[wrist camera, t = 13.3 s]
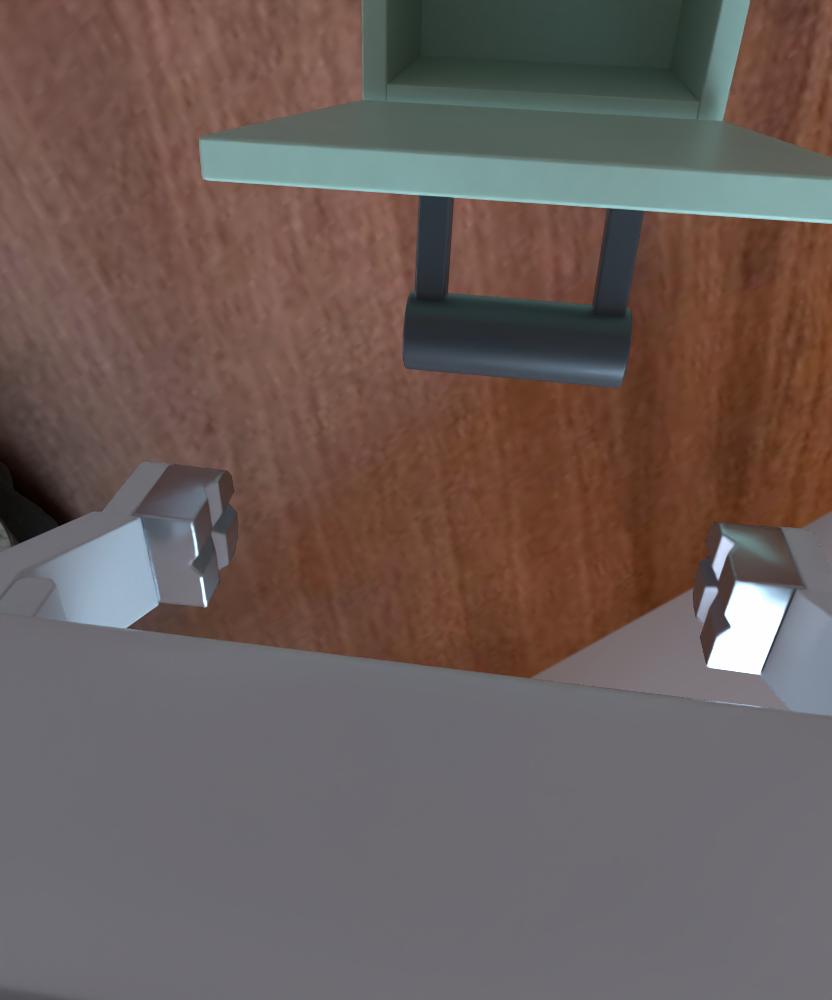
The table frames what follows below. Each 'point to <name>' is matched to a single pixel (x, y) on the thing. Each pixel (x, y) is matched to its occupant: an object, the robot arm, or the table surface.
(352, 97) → the table surface
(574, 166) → the lid
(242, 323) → the table surface
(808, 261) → the table surface
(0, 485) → the stone bowl
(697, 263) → the table surface
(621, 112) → the chest
